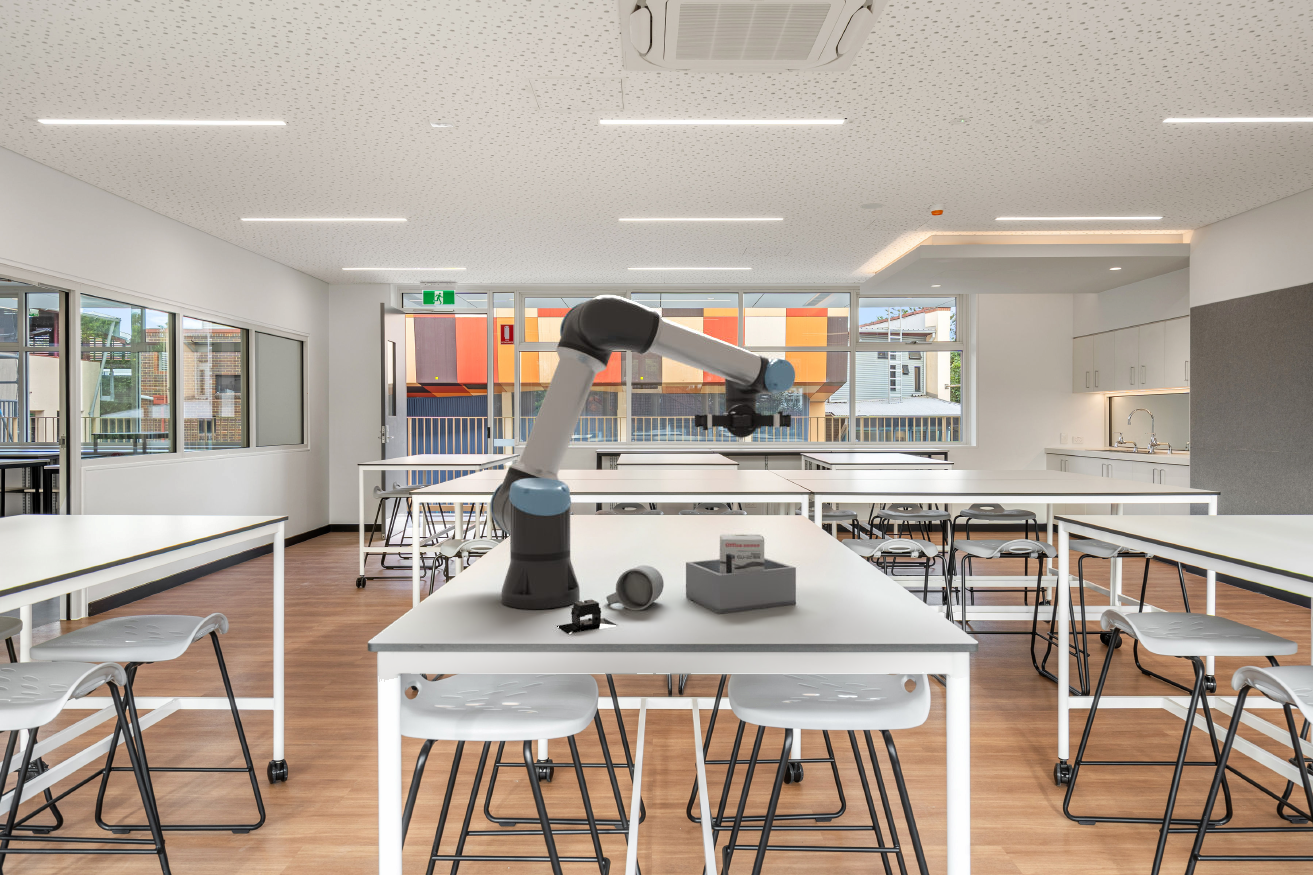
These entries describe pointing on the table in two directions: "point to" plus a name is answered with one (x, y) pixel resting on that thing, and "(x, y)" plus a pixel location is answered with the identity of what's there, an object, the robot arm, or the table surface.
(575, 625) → the black angular piece
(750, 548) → the ink box
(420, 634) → the table surface
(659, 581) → the ceramic mug
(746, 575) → the bin
